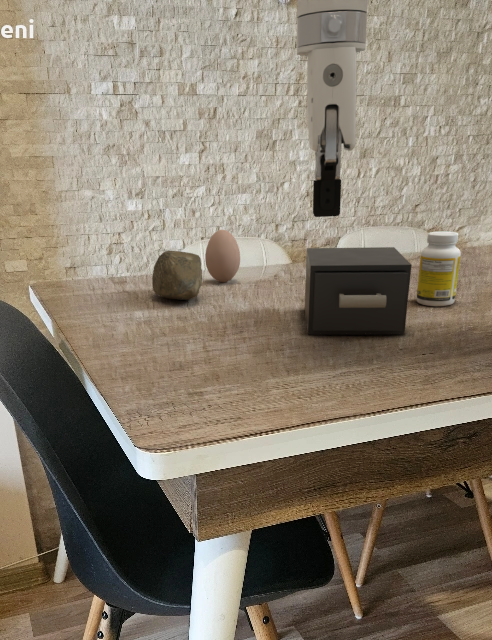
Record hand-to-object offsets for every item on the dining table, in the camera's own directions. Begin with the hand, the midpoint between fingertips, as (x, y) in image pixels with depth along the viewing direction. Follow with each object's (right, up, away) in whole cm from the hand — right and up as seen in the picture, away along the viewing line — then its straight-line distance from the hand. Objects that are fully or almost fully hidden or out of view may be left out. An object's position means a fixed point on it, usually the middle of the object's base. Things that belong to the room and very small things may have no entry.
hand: (326, 215), depth 81 cm
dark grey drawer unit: (+7, -8, +20) cm, 23 cm away
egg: (-13, +6, +50) cm, 52 cm away
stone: (-21, 0, +38) cm, 43 cm away
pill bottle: (+23, -3, +30) cm, 38 cm away
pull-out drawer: (+7, -9, +17) cm, 20 cm away
